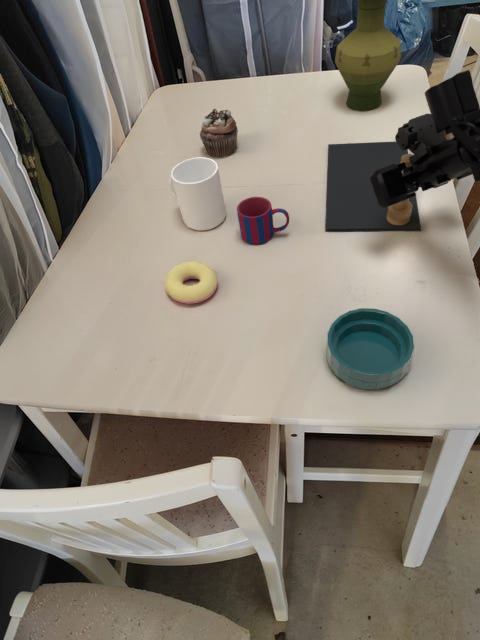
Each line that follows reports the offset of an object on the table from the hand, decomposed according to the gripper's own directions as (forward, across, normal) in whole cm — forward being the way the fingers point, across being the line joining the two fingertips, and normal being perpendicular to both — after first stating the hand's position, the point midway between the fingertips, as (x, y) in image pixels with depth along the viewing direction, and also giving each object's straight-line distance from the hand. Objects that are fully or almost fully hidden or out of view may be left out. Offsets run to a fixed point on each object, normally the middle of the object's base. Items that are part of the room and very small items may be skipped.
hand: (398, 185), depth 83 cm
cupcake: (+38, +20, -27) cm, 50 cm away
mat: (+14, -2, -4) cm, 15 cm away
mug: (+20, +34, -10) cm, 41 cm away
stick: (+4, 0, +6) cm, 7 cm away
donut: (+7, +42, +4) cm, 43 cm away
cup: (+11, +24, -1) cm, 27 cm away
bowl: (-13, +23, +24) cm, 36 cm away
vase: (+37, -22, -26) cm, 51 cm away
